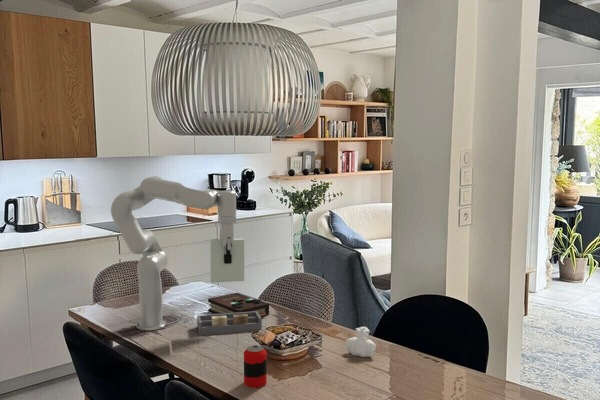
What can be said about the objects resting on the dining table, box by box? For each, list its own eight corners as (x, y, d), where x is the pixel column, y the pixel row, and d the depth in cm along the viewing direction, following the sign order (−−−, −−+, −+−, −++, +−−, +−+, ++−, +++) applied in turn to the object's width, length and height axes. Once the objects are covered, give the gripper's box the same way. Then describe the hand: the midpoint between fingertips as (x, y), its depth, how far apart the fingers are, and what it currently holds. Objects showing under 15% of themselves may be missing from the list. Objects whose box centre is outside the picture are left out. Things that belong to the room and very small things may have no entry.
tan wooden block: (234, 330, 237) (234, 317, 237) (233, 328, 240) (232, 314, 240) (248, 329, 239) (248, 315, 238) (247, 327, 242) (246, 313, 241)
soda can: (266, 378, 192) (266, 344, 191) (266, 388, 185) (266, 352, 184) (244, 378, 192) (244, 344, 191) (243, 388, 185) (242, 352, 183)
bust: (376, 362, 213) (383, 334, 218) (370, 355, 207) (377, 326, 212) (346, 356, 218) (354, 329, 223) (340, 349, 213) (348, 321, 218)
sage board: (211, 282, 238) (211, 240, 236) (210, 281, 241) (210, 239, 239) (244, 280, 242) (244, 239, 240) (243, 279, 244) (243, 238, 242)
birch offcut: (212, 332, 235) (212, 318, 234) (211, 330, 238) (211, 316, 237) (226, 331, 237) (226, 317, 236) (226, 329, 240) (225, 315, 239)
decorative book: (236, 289, 281) (274, 302, 258) (236, 304, 281) (274, 318, 259) (203, 296, 268) (240, 310, 245) (203, 311, 269) (240, 327, 246)
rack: (199, 337, 232) (199, 323, 232) (197, 329, 242) (197, 315, 242) (261, 332, 239) (261, 318, 238) (257, 324, 249) (256, 311, 249)
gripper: (216, 217, 245) (216, 259, 247) (220, 222, 230) (220, 267, 232) (233, 217, 247) (233, 258, 249) (238, 222, 232) (238, 266, 234)
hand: (227, 262), depth 240 cm, fingers closed on sage board, 2 cm apart
